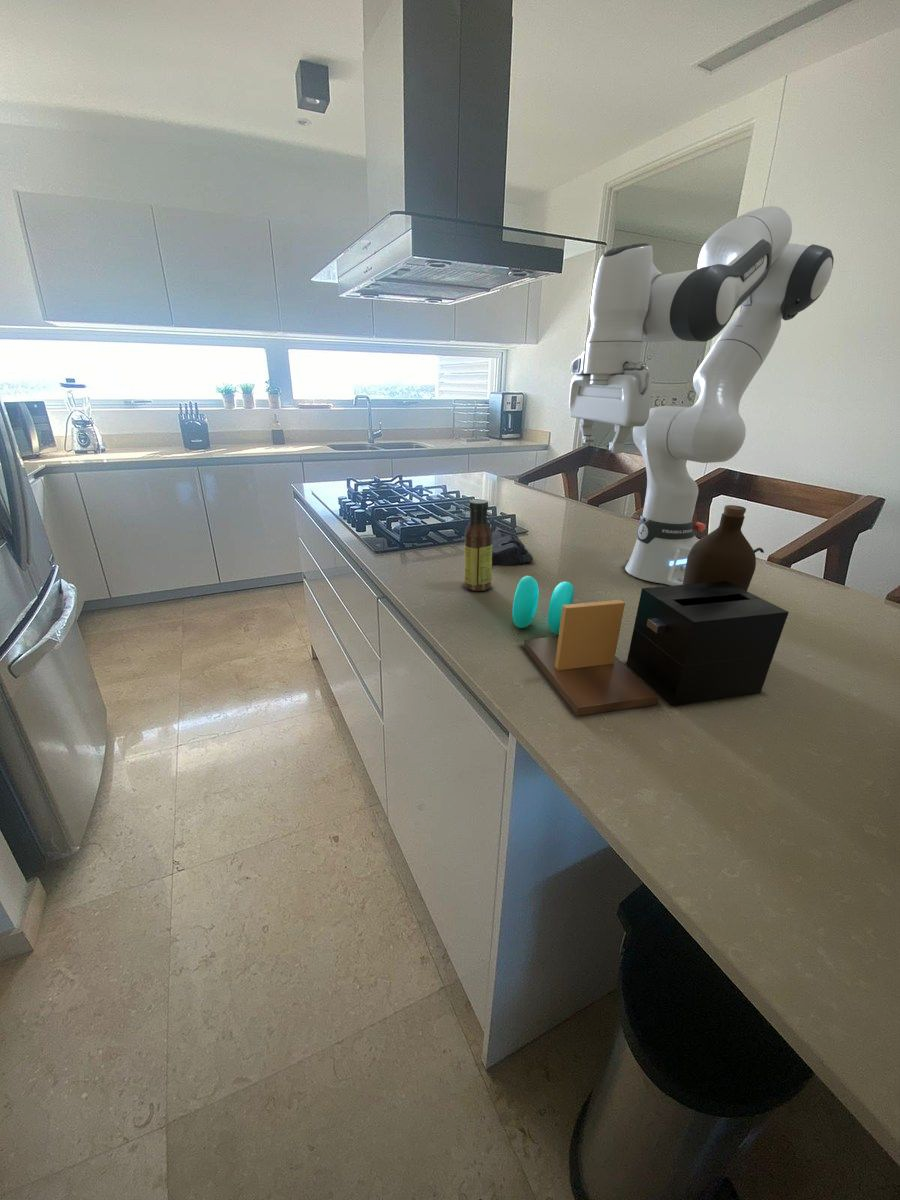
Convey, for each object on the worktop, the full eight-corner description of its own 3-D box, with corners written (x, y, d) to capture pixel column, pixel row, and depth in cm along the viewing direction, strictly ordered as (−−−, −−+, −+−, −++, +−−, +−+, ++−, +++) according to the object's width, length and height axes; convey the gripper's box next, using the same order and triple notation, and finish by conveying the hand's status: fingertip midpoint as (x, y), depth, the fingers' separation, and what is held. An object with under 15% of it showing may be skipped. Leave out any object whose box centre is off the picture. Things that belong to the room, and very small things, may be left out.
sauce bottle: (491, 582, 114) (496, 498, 106) (490, 593, 108) (496, 505, 100) (463, 581, 114) (466, 496, 106) (461, 591, 109) (464, 503, 100)
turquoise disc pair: (562, 645, 87) (570, 594, 83) (508, 635, 90) (513, 585, 86) (570, 622, 96) (577, 575, 92) (520, 613, 99) (525, 567, 95)
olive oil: (704, 658, 85) (744, 517, 74) (657, 631, 93) (686, 502, 83) (744, 646, 89) (787, 511, 79) (695, 622, 98) (728, 498, 87)
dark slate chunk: (521, 540, 145) (523, 524, 143) (534, 566, 125) (536, 548, 123) (470, 539, 145) (471, 523, 143) (475, 564, 125) (475, 547, 123)
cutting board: (588, 639, 90) (590, 632, 89) (656, 704, 72) (658, 695, 71) (523, 647, 87) (524, 639, 86) (576, 716, 69) (578, 707, 68)
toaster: (705, 654, 86) (726, 580, 80) (760, 692, 75) (789, 611, 70) (617, 665, 82) (632, 588, 76) (662, 707, 71) (684, 623, 65)
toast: (609, 660, 80) (621, 599, 76) (613, 663, 79) (625, 602, 75) (554, 666, 78) (562, 604, 73) (557, 670, 77) (566, 608, 72)
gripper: (668, 361, 72) (652, 457, 78) (597, 363, 90) (588, 441, 96) (631, 361, 71) (617, 458, 77) (566, 363, 89) (558, 442, 94)
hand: (600, 449), depth 86 cm, fingers open, 8 cm apart
